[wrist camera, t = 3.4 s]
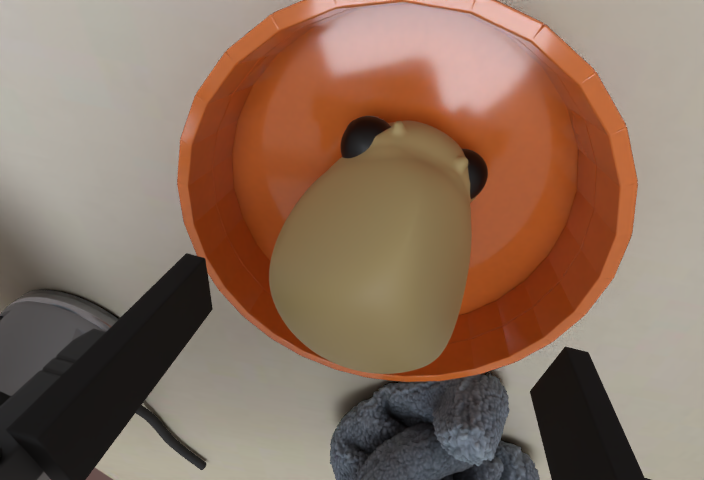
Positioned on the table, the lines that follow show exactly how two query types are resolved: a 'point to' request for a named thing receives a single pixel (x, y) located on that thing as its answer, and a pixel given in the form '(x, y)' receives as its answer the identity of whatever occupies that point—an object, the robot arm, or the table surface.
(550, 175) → the pan
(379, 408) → the koala plush
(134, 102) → the table surface
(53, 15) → the table surface
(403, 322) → the beige pug toy
